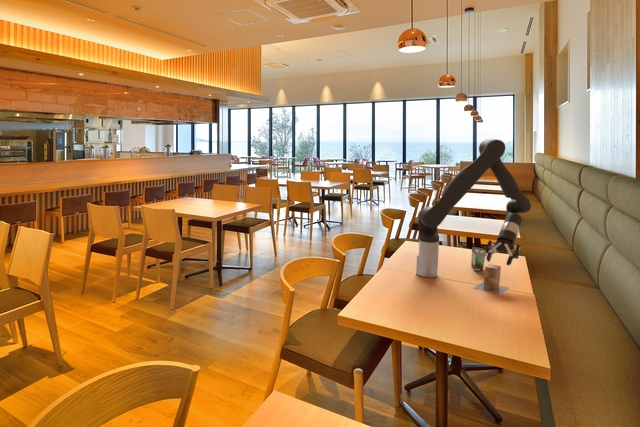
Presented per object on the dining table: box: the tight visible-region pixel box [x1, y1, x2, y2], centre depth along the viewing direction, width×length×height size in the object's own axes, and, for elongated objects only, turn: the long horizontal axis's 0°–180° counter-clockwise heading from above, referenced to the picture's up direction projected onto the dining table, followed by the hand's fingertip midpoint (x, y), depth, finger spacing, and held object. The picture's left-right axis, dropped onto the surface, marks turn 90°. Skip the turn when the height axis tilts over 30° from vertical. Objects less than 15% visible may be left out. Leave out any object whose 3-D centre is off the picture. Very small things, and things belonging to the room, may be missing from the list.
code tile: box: [472, 281, 510, 296], centre depth 181 cm, size 12×12×1 cm
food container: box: [470, 246, 488, 273], centre depth 208 cm, size 12×6×10 cm, turn 168°
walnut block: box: [483, 263, 501, 291], centre depth 180 cm, size 5×5×10 cm
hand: (497, 262), depth 184 cm, fingers open, 8 cm apart
